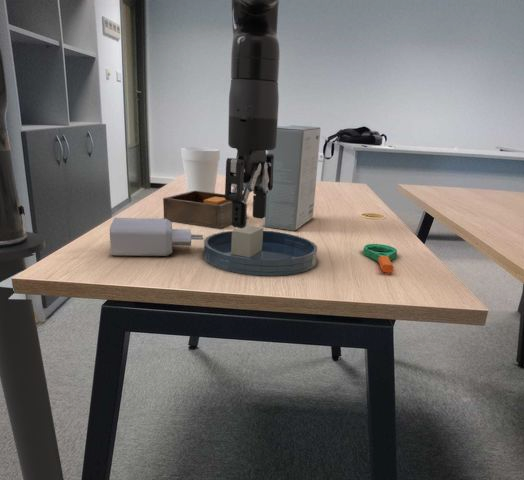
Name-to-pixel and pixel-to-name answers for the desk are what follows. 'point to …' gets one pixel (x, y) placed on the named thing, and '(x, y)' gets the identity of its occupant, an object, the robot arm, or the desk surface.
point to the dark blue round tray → (263, 254)
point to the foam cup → (200, 168)
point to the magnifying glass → (381, 255)
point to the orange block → (216, 201)
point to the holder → (197, 209)
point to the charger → (147, 237)
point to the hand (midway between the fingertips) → (249, 222)
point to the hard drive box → (293, 177)
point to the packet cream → (247, 241)
